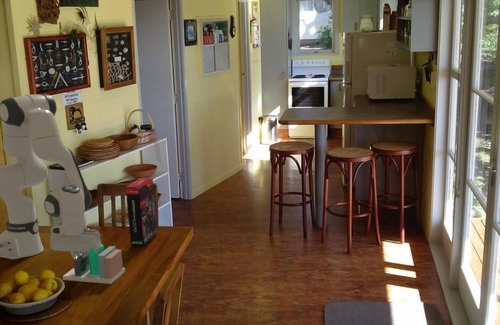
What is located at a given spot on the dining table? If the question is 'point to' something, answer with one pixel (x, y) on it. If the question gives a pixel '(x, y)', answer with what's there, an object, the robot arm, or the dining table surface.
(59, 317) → the dining table surface
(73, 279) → the white base with blocks
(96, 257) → the candle
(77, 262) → the bookend
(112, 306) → the dining table surface
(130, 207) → the graphics card box
